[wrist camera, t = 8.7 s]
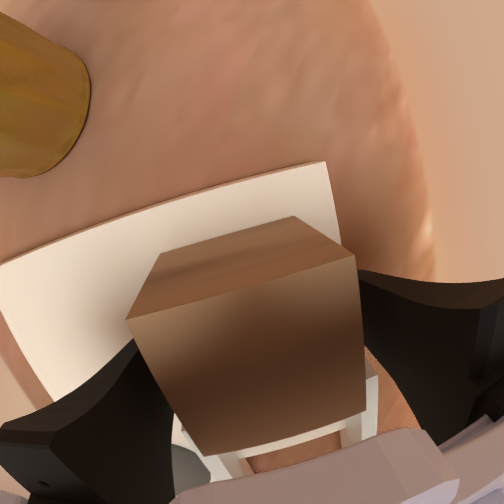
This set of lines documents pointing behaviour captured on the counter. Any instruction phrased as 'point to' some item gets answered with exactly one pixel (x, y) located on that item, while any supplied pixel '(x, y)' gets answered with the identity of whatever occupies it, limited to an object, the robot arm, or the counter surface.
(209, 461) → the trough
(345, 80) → the counter surface
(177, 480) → the coaster
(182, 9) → the counter surface
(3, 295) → the board
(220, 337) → the walnut block
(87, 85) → the vase
